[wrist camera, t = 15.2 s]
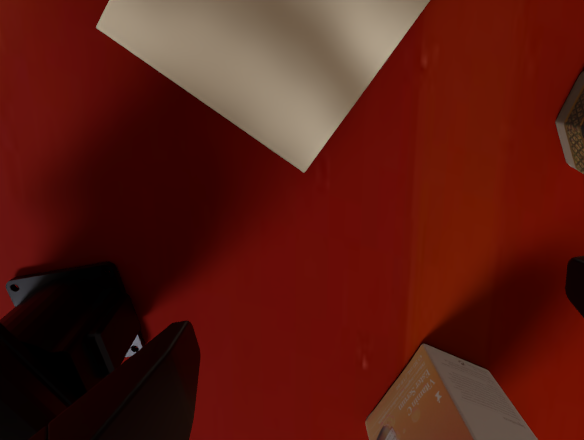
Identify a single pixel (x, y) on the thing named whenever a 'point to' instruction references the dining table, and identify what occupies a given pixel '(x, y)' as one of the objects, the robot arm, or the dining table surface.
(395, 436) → the small box
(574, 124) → the ceramic cup
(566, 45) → the dining table surface
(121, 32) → the white lined paper sheet
